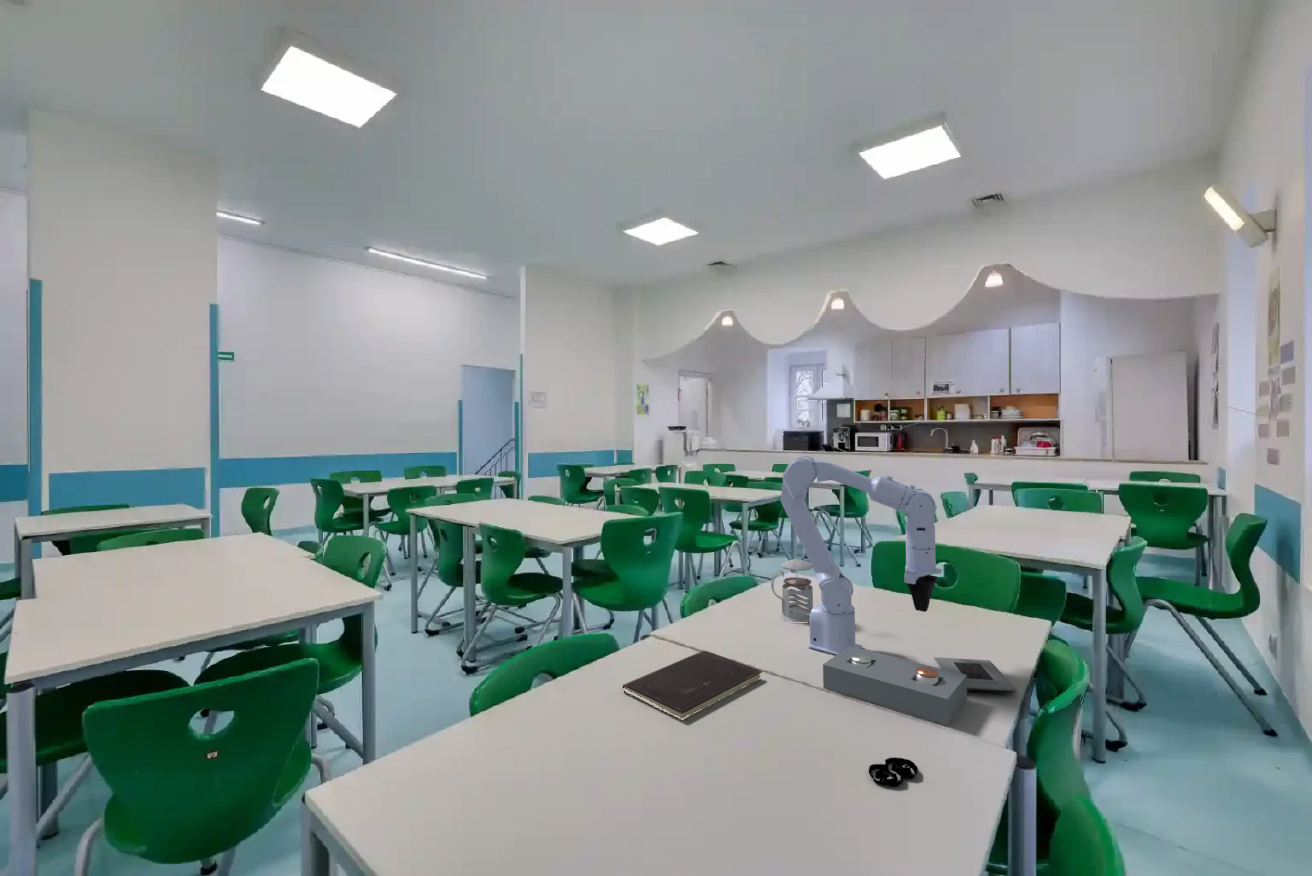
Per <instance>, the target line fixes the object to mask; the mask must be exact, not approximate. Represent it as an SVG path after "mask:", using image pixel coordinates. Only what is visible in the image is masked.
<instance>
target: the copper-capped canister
mask: <svg viewBox="0 0 1312 876" xmlns="http://www.w3.org/2000/svg"><path fill="white" fill-rule="evenodd" d="M916 681H918V682H922V683H926V684H929V685H933V686H937V685H938V672H937V671H936V670H935V669H932V668H928V667H918V668H916Z"/></svg>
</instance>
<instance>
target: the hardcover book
mask: <svg viewBox="0 0 1312 876" xmlns="http://www.w3.org/2000/svg"><path fill="white" fill-rule="evenodd" d="M761 673H763V670H761V669H759V668H755V667H752V666H750V665H747V664H744V663H741V662H739V661H735V660H733V659H730V658H727V657H724V656H721V655H718V654H716V653H712V652H711V651H707V650H705V649H704V650H701V651H699V652H696V653H694V654H692V655H690V656H687V657H685V658H683V659H680V660H678V661H675V662H673V663H671V664H668V665H666V666H664V667H662V668H659V669H657V670H655V671H652V672H650V673H648V674H645V675H643V676H641V677H639V678H636V679H633V680H631V681H628V682H627V683H624V684H622V689H623V688H625V689H627V690H629V691H630V692H633V693H635V694H637V695H638V696H640V697H643V698H645V699H647V700H649V701H650V702H652V703H655V704H656V705H658V706H659V707H661V708H662V709H666V710H667V711H669V712H670V713H672V714H674V715H677V716H679V717H680V718H684V717H686V716H687V715H690V714H693V713H694V712H696V711H698V710H700V709H703V708H705V707H707V706H708V705H710V704H712V703H714V704H716V703H717V702H716V701H718V700H719V699H722V698H723V697H726V696H728V695H729V696H731V695H732V694H731V693H733V692H735V693H737V692H739V691H740V690H739V689H741V688H742V687H744V686H746V687H748V686H749V685H748V684H750V683H752V682H754V681H755V680H758V679H759V678H760V679H761V675H760V674H761ZM760 679H759V680H760ZM759 680H758V681H759ZM754 683H755V682H754ZM752 684H753V683H752ZM747 685H748V686H747ZM750 685H751V684H750ZM744 688H745V687H744ZM738 690H739V691H738ZM741 690H742V689H741ZM736 691H737V692H736ZM730 694H731V695H730ZM733 694H734V693H733ZM729 696H728V697H729ZM726 698H727V697H726ZM722 700H723V699H722ZM715 702H716V703H715ZM718 702H719V701H718ZM707 708H708V707H707ZM705 709H706V708H705ZM703 710H704V709H703Z"/></svg>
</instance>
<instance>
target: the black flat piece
mask: <svg viewBox="0 0 1312 876" xmlns="http://www.w3.org/2000/svg"><path fill="white" fill-rule="evenodd" d="M884 762H885V764H883V763H873V764H870V765H869V766H868V773H869V776H870V777H871V779H872V780H873V782H874V783H876V784H877V785H881V786H889V787H891V788H897V787H900V786H901V785H902V784H903V781H904V779H905V780H912V779H914V778H915V776H916V775H917V774H918V771H919V767H918V766H917V764H915V763H914V761H912V760H910V759H907V758H903V757H896V756H895V757H888V758H886V759H885V760H884ZM889 765H891V766H890V768H889ZM898 766H899V767H898ZM911 769H912V770H911ZM873 771H874V775H873ZM912 771H913V772H914V774H912ZM890 777H892V778H890ZM898 777H900V778H898ZM898 779H900V780H898Z"/></svg>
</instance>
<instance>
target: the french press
mask: <svg viewBox="0 0 1312 876" xmlns="http://www.w3.org/2000/svg"><path fill="white" fill-rule="evenodd" d="M797 539H798V536H797V534H796V533H795V552H796V553H795V554H796V555H795V556H796V557H795V558H794V559H790V560H786V561H784V562H783V563H781V567H782V569H785V570H789V571H796V572H798V571H809V570H812V569H813V567H812V565H811V563H810V561H806V560H804V559H799V558H798V544H797V543H798V541H797ZM784 573H785V572H783V570H778V571H776V572H775V573H774V574H773V575H772V578H771V581H770V583H771V584H770V585H771V591H772V593H773V594H774V596H775V597H777V598H778V599H780V600H781V613H780V614H779V615H780V616H781V618H782V619H784V620H786V621H792V622H810V614H811V610H812V609H813V607H814V599H813V597H814V596H813V594H814V593H813V586H812V585H811V584H812V580H810V579H809V578H805V577H799V576H798V577H797V576H796V577H795V576H790V577H786V578H784V575H785V574H784ZM780 574H781V577H783V578H784V579H783V580H782V581H783V584H782V596H780V595H778V594H777V593H776V592H775V588H774V583H775V580H776V578H777V577H778V575H780ZM790 587H792V588H790ZM788 588H789V589H788ZM793 588H795V589H793ZM796 589H797V590H796ZM786 621H785V622H786Z"/></svg>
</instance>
